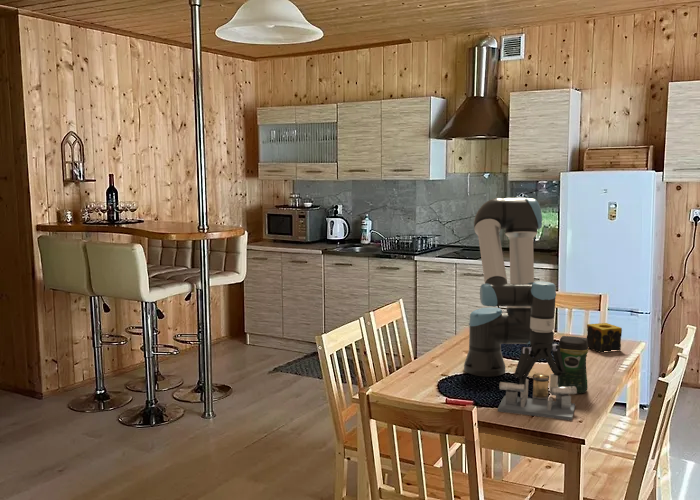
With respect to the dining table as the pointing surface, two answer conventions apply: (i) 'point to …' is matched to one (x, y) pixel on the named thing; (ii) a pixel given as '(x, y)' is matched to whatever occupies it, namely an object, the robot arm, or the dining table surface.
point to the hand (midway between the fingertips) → (538, 396)
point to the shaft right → (563, 396)
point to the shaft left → (511, 391)
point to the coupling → (540, 386)
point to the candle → (604, 337)
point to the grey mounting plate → (537, 408)
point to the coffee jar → (574, 362)
